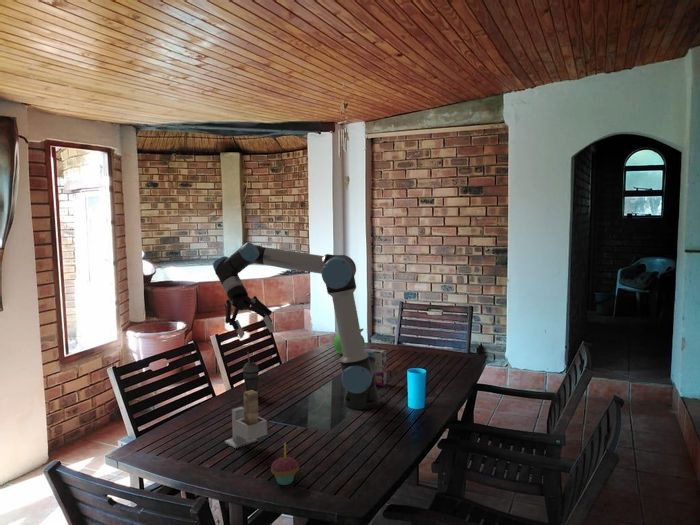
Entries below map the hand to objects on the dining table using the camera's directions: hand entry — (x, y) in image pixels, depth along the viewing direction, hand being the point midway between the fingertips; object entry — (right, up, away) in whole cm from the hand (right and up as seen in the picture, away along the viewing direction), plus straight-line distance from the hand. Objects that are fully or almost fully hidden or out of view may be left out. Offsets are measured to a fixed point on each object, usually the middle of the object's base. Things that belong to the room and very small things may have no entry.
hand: (257, 333), depth 202 cm
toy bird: (+35, -26, +104) cm, 112 cm away
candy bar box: (+47, -31, +50) cm, 75 cm away
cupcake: (+16, -40, -41) cm, 59 cm away
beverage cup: (-9, -33, +34) cm, 48 cm away
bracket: (-1, -37, -16) cm, 41 cm away
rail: (+1, -32, -19) cm, 37 cm away
